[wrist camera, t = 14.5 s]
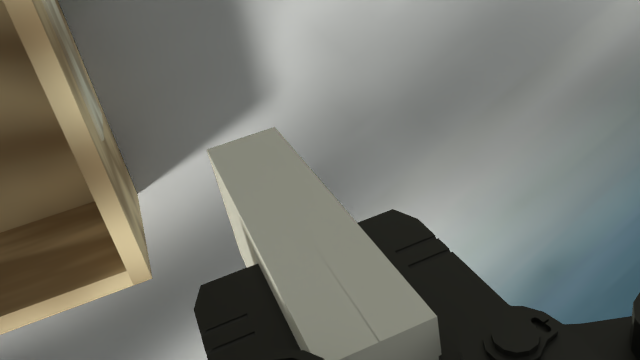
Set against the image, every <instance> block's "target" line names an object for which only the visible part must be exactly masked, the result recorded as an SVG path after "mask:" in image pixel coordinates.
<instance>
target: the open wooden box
mask: <svg viewBox="0 0 640 360" xmlns="http://www.w3.org/2000/svg"><path fill="white" fill-rule="evenodd" d="M150 279H152V274H151V268H150V262H149V257H148V251H147V246H146V240H145V234H144V229H143V223H142V218H141V212H140V206H139V201H138V195H137V192H136V190H135V187H134V185H133V183H132V180H131V178H130V175H129V173H128V170H127V168H126V166H125V163H124V161H123V158H122V156H121V153H120V151H119V149H118V146H117V144H116V141H115V139H114V136H113V134H112V131H111V129H110V127H109V124H108V122H107V119H106V117H105V114H104V112H103V110H102V107H101V105H100V102H99V100H98V97H97V95H96V93H95V90H94V88H93V85H92V83H91V80H90V78H89V76H88V73H87V71H86V68H85V66H84V63H83V61H82V59H81V56H80V54H79V51H78V49H77V46H76V44H75V42H74V39H73V37H72V34H71V32H70V29H69V27H68V25H67V22H66V20H65V17H64V15H63V12H62V10H61V8H60V5H59V3H58V0H0V335H1V334H4V333H6V332H9V331H12V330H14V329H17V328H20V327H23V326H25V325H28V324H31V323H33V322H36V321H39V320H41V319H44V318H47V317H50V316H52V315H55V314H58V313H60V312H63V311H66V310H69V309H71V308H74V307H77V306H79V305H82V304H85V303H87V302H90V301H93V300H96V299H98V298H101V297H104V296H106V295H109V294H112V293H115V292H117V291H120V290H123V289H125V288H128V287H131V286H133V285H136V284H139V283H142V282H144V281H147V280H150Z"/></svg>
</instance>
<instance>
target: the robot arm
mask: <svg viewBox="0 0 640 360" xmlns="http://www.w3.org/2000/svg"><path fill="white" fill-rule="evenodd" d="M207 152H208V155H209V158H210V161H211V164H212V167H213V171H214V174H215V177H216V180H217V183H218V186H219V189H220V192H221V195H222V198H223V201H224V205H225V208H226V211H227V214H228V217H229V220H230V223H231V226H232V229H233V232H234V235H235V238H236V242H237V245H238V248H239V251H240V254H241V256H242V258H243V260H244V263H245V265H246V267H247V268H245V269H242V270H240V271H237V272H235V273H232V274H229V275H227V276H224V277H222V278H219V279H216V280H214V281H211V282H209V283H206V284H203V285H201V286H200V290H199V293H198V297H197V300H196V304H195V307H194V312H195V316H196V319H197V323H198V326H199V330H200V333H201V336H202V341H203V344H204V348H205V351H206V354H207V358H208V360H640V293H639V294H638V296H637V298H636V299H635V301H634V302H633V311H632V316H630V317H624V318H617V319H610V320H603V321H597V322H590V323H583V324H567V325H565V324H562V323H560V322H559V321H557V320H556V319H554V318H552V317H551V316H549V315H548V314H546V313H544V312H542V311H538V310H535V309H531V308H528V307H524V306H510V305H509V304H507V303H506V302H505V301H504V300H503V299H502V298H501V297H500V296H499V295H498V294H497V293H496V292H495V291H493V290H492V289H491V288H490V287H489V286H488V285H487V284H486V283H485V282H484V281H483V280H482V279H481V278H480V277H479V276H478V275H477V274H475V273H474V272H473V271H472V270H471V269H470V268H469V267H468V266H467V265H466V264H465V263H464V262H463V261H462V260H461V259H460V258H459V257H457V256H456V255H455V254H454V253H453V252H450V250H449V248H448V247H447V246H446V245H445V244H444V243H443V242H442V241H441V240H439V239H436V237H435V235H434V234H433V233H432V232H431V231H430V230H429V229H428V228H427V227H426V226H425V225H424V224H423V223H421V222H420V221H419V220H418V219H416V218H414V217H411V216H409V215H406V214H404V213H401V212H399V211H396V210H393V209H392V210H390V211H387V212H384V213H382V214H379V215H377V216H374V217H371V218H369V219H366V220H364V221H361V222H358V223H357V222H356V221H355V220H354V219H353V218H352V217H351V215H350V214H349V213H348V212H347V211H346V210H345V208H344V207H343V206H342V205H341V204H340V203H339V201H338V200H337V199H336V198H335V197H334V196H333V194H332V193H331V192H330V191H329V190H328V189H327V188H326V186H325V185H324V184H323V183H322V182H321V181H320V179H319V178H318V177H317V176H316V175H315V174H314V172H313V171H312V170H311V169H310V168H309V167H308V165H307V164H306V163H305V162H304V161H303V160H302V158H301V157H300V156H299V155H298V154H297V153H296V151H295V150H294V149H293V148H292V147H291V146H290V144H289V143H288V142H287V141H286V140H285V139H284V137H283V136H282V135H281V134H280V133H279V132H278V130H277V129H276V128H275V127H273V128H270V129H267V130H264V131H261V132H258V133H255V134H252V135H249V136H246V137H243V138H240V139H237V140H234V141H231V142H228V143H225V144H222V145H219V146H216V147H213V148H210V149H207Z"/></svg>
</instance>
